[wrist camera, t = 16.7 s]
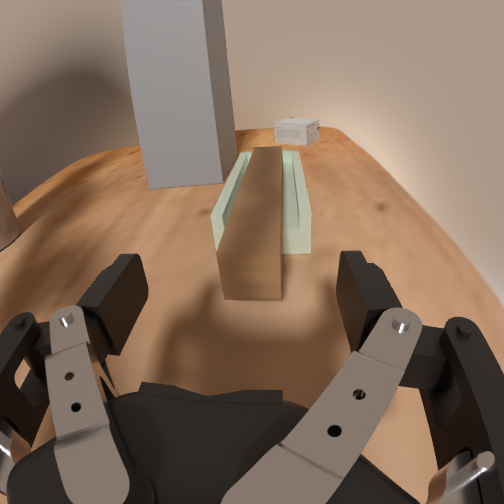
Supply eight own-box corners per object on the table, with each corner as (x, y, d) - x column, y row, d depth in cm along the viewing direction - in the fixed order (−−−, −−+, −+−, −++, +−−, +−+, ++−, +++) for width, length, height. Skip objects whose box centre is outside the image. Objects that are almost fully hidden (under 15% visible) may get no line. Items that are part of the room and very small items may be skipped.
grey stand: (149, 189, 45) (120, -9, 26) (179, 160, 58) (159, 7, 40) (223, 183, 43) (199, -32, 25) (237, 154, 57) (220, -6, 38)
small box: (306, 146, 59) (305, 123, 57) (274, 143, 63) (272, 121, 61) (320, 139, 65) (319, 118, 62) (290, 137, 69) (289, 116, 66)
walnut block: (224, 299, 18) (215, 253, 17) (256, 172, 38) (254, 147, 36) (281, 299, 18) (279, 251, 16) (283, 171, 38) (282, 146, 36)
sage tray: (217, 255, 27) (210, 216, 25) (243, 177, 45) (240, 152, 42) (310, 253, 26) (311, 213, 24) (299, 175, 44) (298, 150, 41)
